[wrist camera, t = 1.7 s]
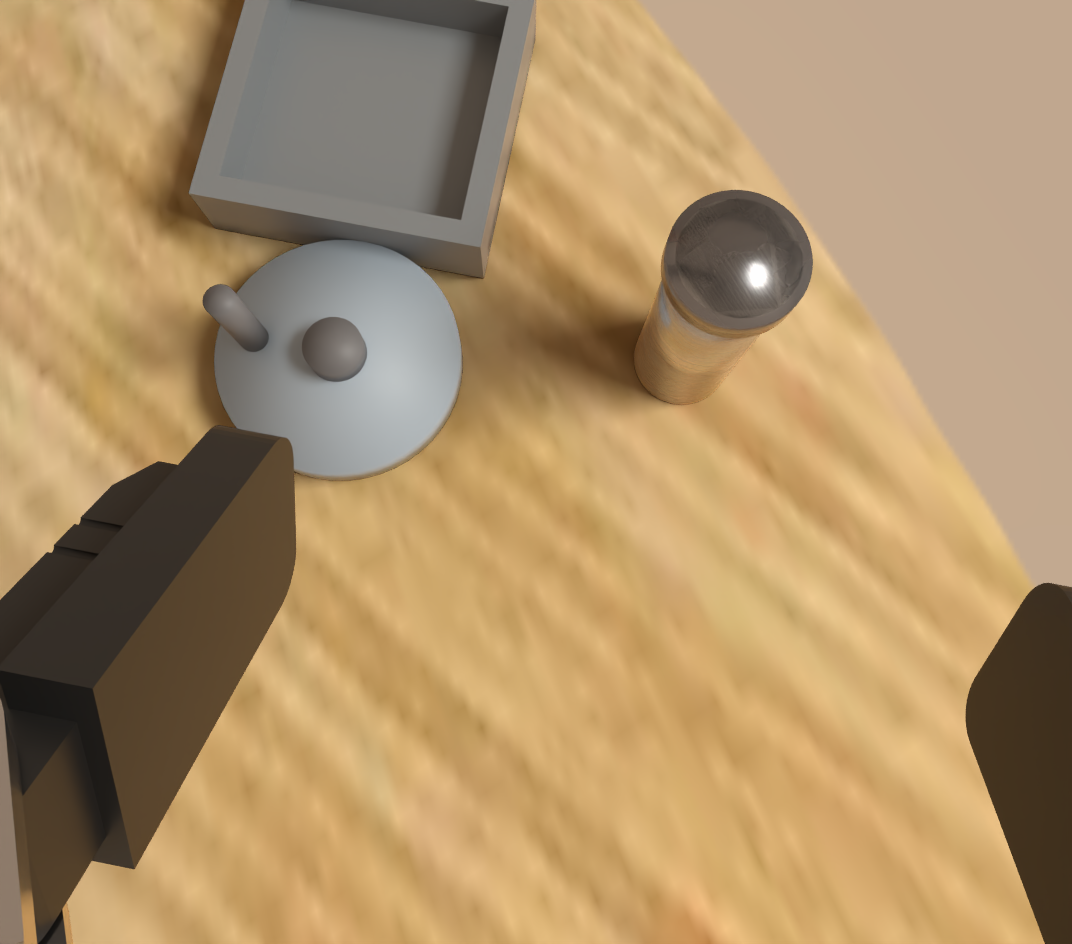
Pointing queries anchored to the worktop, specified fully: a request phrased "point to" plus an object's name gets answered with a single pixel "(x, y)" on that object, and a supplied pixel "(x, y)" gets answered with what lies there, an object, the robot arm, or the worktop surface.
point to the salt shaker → (720, 291)
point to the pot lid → (338, 357)
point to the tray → (369, 124)
